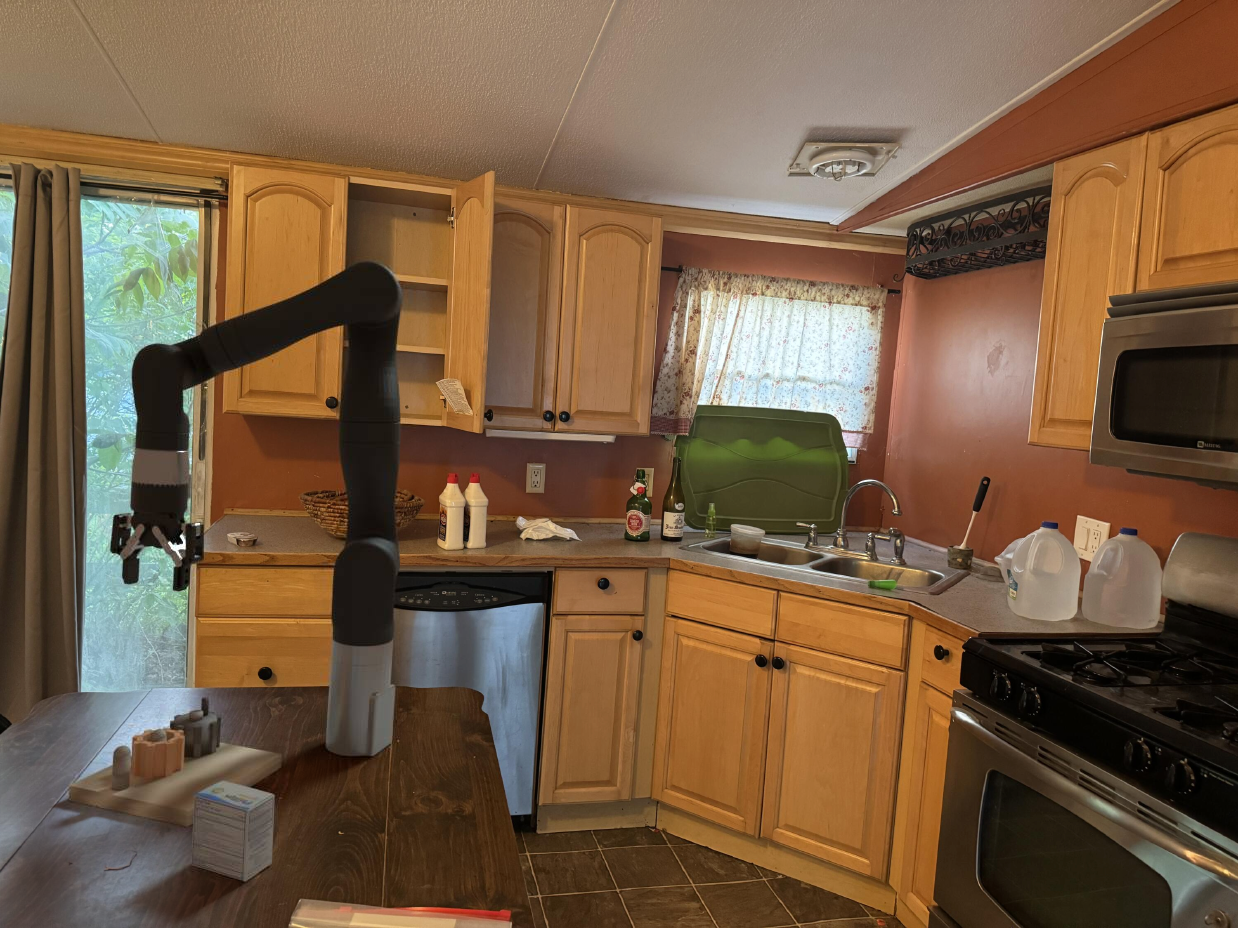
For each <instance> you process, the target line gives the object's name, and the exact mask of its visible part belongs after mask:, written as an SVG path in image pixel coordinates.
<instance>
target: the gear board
mask: <svg viewBox="0 0 1238 928" xmlns="http://www.w3.org/2000/svg"><path fill="white" fill-rule="evenodd" d="M209 707H210V697H209V696H203V697H201V706H200V709H195V710H191V711H189V713H184V714H177V715H174V716H173V720H169V728H171V730H175V731H178V730H182V731H184V736H185V745H184V764H183V769H182V770H176V771H174V772H173V774H172V775H171V776H167V777H165V776H157V777H153V778H152V779H145V777H144V776H140V775H139V776H135V777H134V776H133V775H131V771H132V770H131V755H132V749H131V748H130V747H129V746H127V745H120V746H118V747H116V748H115V749H114V751H113V754H112V765H109V766H107V767H105V768H103V769H101V770H99V771H96V772H94V773H93V774H92V773H91V775H89V776H86V777H84V778H82V779H80V780H78V781H76V782H73V783H71V784H70V785H68V801H69V802H73V803H77V804H83V805H87V806H91V805H92V807H96V806H98V807H97V808H100V809H101V808H102V809H106V810H110V811H114V812H119V813H124V814H129V815H133V816H138V817H141V818H146V819H151V820H156V821H161V822H165V823H169V824H174V825H179V826H183V827H190V826H191V825H193V815H194V796H195V795H196V794H197V793H199V792H201V791H202V790H204V789H206V788H208V787H210V786H212V785H214V784H216V783H219V782H221V781H227V782H230V783H234V784H238V785H242V786H246V787H250V788H252V786H254V785H256V784H257V783H260V781H262V780H263V779H265V778H267V777H269V776H271V774H273V773H275V772H276V771H278V770H280V769H281V768H282V758H283V755H282V753H277V752H272V751H267V750H263V749H256V748H251V747H247V746H240V745H235V744H230V743H226V742H221V728H222V727H221V726H222V716H221V715H217V714H215V712H214V711H210V710H209V709H210V708H209ZM154 730H155V731H153V732H152V734H151V736H150V742H153V743H154V742H162V741H167V733H166V732H165V730H163V728H158V729H157V728H156V729H154ZM279 768H280V769H279Z"/></svg>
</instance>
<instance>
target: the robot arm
mask: <svg viewBox="0 0 1238 928" xmlns="http://www.w3.org/2000/svg"><path fill="white" fill-rule="evenodd" d="M402 307H403V289H402V287H401V284H400V282H399V281H398V278H397V277H396V275H395V274H394V272H393V270H390V268H388V267H387V266H386V265H384V264H382V263H380V262H376V261H372V260H371V261H370V260H363V261H358V262H356V263H353V264H352V265H350V266H349V267H347V268H345V269H343V270H341V271H340V272H338V273H336V274H334V275H332V276H331V277H329V278H328V279H326V280H324V281H322V282H320V283H319V284H317V285H314V286H312V287H311V288H309V289H306V290H305V291H302V292H300V293H298V294H295V295H292V296H291V297H289V298H286V299H283V300H280V301H277V302H275V303H271V304H269V305H266V306H263V307H261V308H257V309H255V310H251V311H249V312H245V313H243V314H240V315H237V316H235V317H232V318H228V319H225V320H223V321H221V322H218V323H215V324H213V325H211V326H208V327H207V328H204V329H203V330H202V331H201V332H200V333H199V334H198V335H196V336H193V337H190V338H187V339H185V340H183V341H180V342H179V341H178V342H177V343H173V344H166V343H158V342H156V343H151V344H148V345H146V346H143V347H142V348H141V349H140V350H139V351H138V352H137V353H136V355H135V357H134V359H133V362H132V367H131V388H132V395H133V403H134V409H135V413H136V423H135V424H136V425H135V443H134V453H133V458H132V462H131V463H132V464H131V465H132V466H131V481H130V483H131V484H130V502H129V503H130V504H129V505H130V506H129V507H130V509H131V511H132V512H133V514H132V513H130V512H126V513H124V512H122V513H117V514H114V515H113V518H112V525H111V528H112V529H111V537H110V538H111V539H110V548H109V551H110V553H111V554H114V555H118V556H119V557H120V559H121V560H122V564H121V571H122V573H121V578H122V580H123V584H124V585H128V586H129V585H133V584H137V583H138V582H139V580H140V579H139V578H140V562H141V561H140V560H141V559H140V558H138V557H139V556H140V554H142V551H144V549H145V548H148V547H153V548H156V549H161V550H163V551H164V552H165V554H166V555H168V556H170V559H171V560H172V561H173V563H174V566H173V577H172V591H174V592H182V591H186V590H187V588H188V587H189V586H190V584H191V583H190V582H191V580H190V579H191V567H192V565H193V564H197V563H200V562H203V561H204V559H205V525H204V523H203V522H202V521H195V522H186V519H185V513H186V511H187V510H188V505H189V504H188V503H189V486H190V485H189V483H190V467H191V466H190V454H189V450H190V449H189V447H190V427H191V425H190V423H191V422H190V418H189V416H188V414H187V413H186V411H185V409H184V391H186V390H188V389H191V388H194V387H196V386H199V385H201V384H203V383H205V382H207V381H210V380H212V379H214V378H216V377H217V376H219V375H221V374H223V373H226V372H230V371H233V370H236V369H239V368H242V367H245V366H247V365H251V364H253V363H256V362H258V361H260V360H263V359H265V358H268V357H270V356H272V355H275V354H277V353H279V352H280V351H283V350H285V349H287V348H289V347H290V346H292V345H294V344H297V343H298V342H300V341H303V340H304V339H306V338H309V337H311V336H313V335H316V334H318V333H322V332H324V331H327V330H330V329H334V328H337V327H342V326H346V327H347V345H348V346H347V347H348V350H347V351H348V353H347V355H348V357H347V364H346V365H347V366H346V370H345V376H344V381H343V384H342V385H343V386H342V388H341V389H342V390H341V397H340V403H339V414H338V415H339V416H338V449H339V451H338V452H339V461H340V466H341V471H342V473H341V474H342V477H343V482H344V487H345V491H346V498H347V523H346V524H347V525H346V533H345V534H346V535H345V542H344V546H343V548H342V549H341V551H340V552H339V553H338V555H337V556H336V559H335V562H334V566H333V573H332V575H333V576H332V589H331V590H332V591H331V611H330V612H331V614H330V616H331V617H330V618H331V619H330V621H331V625H332V640H331V654H330V656H331V657H330V667H329V668H330V669H329V684H328V699H327V700H328V701H327V705H328V706H327V714H326V715H327V717H326V731H325V749H326V750H328V751H329V752H331V754H332V753H333V754H335V755H338V756H346V757H361V756H369V757H374V756H375V755H377V754H378V753H380V752H381V751H382V750H384V749H385V748H386V747H388V746H389V745H390V744H392V742H393V732H394V731H393V729H394V728H393V727H394V716H395V715H394V713H395V712H394V711H395V700H396V699H395V698H396V685H395V684H393V683H391V679H392V667H393V666H392V663H393V652H394V651H393V649H394V636H395V635H394V634H395V619H394V617H395V616H394V611H395V594H396V581H397V576H398V574H399V572H400V571H399V570H400V565H401V557H400V549H399V541H398V540H399V539H398V530H397V529H398V528H397V519H396V517H397V516H396V495H397V489H398V488H397V487H398V480H399V471H400V470H399V468H400V456H401V455H400V454H401V401H400V399H401V398H400V386H399V377H398V368H397V367H398V366H397V347H398V335H399V328H400V327H399V325H400V319H401V312H402ZM132 529H133V531H134V532H133V533H132ZM184 536H185V538H184ZM175 544H176V545H175Z"/></svg>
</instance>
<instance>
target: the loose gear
mask: <svg viewBox="0 0 1238 928" xmlns="http://www.w3.org/2000/svg"><path fill="white" fill-rule="evenodd" d="M162 729H163V730H165V732H166V733H167V741H162V742H154V743H153V742H150V736H151V734H152V732H153V731H155V730H156V729H146V730H144V731H143V733H141V734H134V735H133V736H132V738H131V740H132V741H131V770H132V771H131V775H133V776H134V777H135V776H139V775H140V776H144V777H145V779H152V778H153V777H157V776H165V777H167V776H171V775H172V774H173V772H174V771H176V770H182V769H183V764H184V745H185V736H184V731H182V730H178V731H175V730H171V728H170V727H163V728H162Z"/></svg>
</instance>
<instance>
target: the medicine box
mask: <svg viewBox="0 0 1238 928" xmlns="http://www.w3.org/2000/svg"><path fill="white" fill-rule="evenodd" d="M275 796H276V795H275V794H273V793H271V792H267V791H264V790H259V789H257V788H252V787H246V786H242V785H238V784H234V783H230V782H227V781H221V782H219V783H216V784H214V785H212V786H210V787H208V788H206V789H204V790H202V791H201V792H199V793H197V794H196V795H195V796H194V815H193V824H192V840H191V841H192V842H191V863H190V865H191V866H192V867H197V868H200V869H202V870H203V869H204V870H205V871H206V870H207V871H210V872H213V873H216V874H220V875H223V876H227V877H229V878H232V879H236V880H239V881H242V882H247V881H249V880H250V879H252V878H253V877H254V876H256V875H257V874H259V873H260V872H261V871H263V870H264V869H266V868H267V867H268V866H270V865H272V861H273V842H274V841H273V840H274V839H273V838H274V819H275V818H274V815H275Z"/></svg>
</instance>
